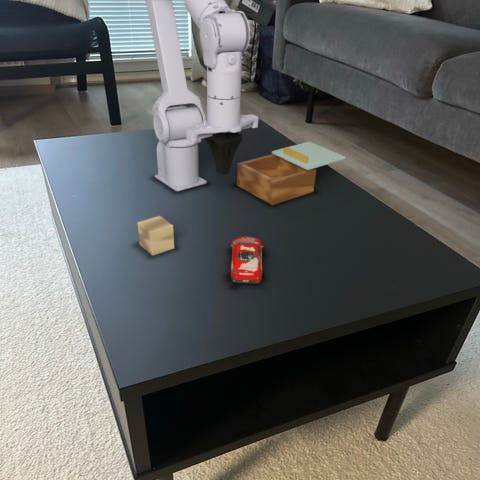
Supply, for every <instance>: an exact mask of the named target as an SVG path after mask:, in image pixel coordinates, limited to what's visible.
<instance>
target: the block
mask: <svg viewBox="0 0 480 480" xmlns="http://www.w3.org/2000/svg"><path fill="white" fill-rule="evenodd" d="M137 233H138V241H139V246H140V247H142V248H143V249H144V250H145V251H146V252H148V253H149V254H150V255H151V256H156V255H158V254H162V253H165V252H168V251H170V250H173V249H175V231H174V225H173V224H172V223H171V222H169V221H168V220H166V219H165V218H164V217H163V216H161V215H157V216H154V217H150V218H147V219H144V220H141V221H137Z"/></svg>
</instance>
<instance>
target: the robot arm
mask: <svg viewBox="0 0 480 480" xmlns="http://www.w3.org/2000/svg"><path fill="white" fill-rule="evenodd" d="M145 4H146V10H147V14H148V20H149V24H150V25H149V26H150V30H151V36H152V41H153V44H154V50H155V51H154V52H155V55H156V56H155V57H156V62H157V67H158V72H159V77H160V82H161V87H162V88H161V89H162V93H161V95H160V96H159V97H158V98H157V99H156V100H155V101H154V103H153V105H152V114H153V129H154V133H155V136H156V138H157V139H158V142H157V145H156V162H157V163H156V164H157V174H155V175H154V178H155V179H157V180H158V181H160V182H161V183H163V184H164V185H166V186H167V187H169V188H170V189H172V190H174V191H175V192H181V191H184V190H188V189H191V188H196V187H200V186H203V185H206V184H207V183H208V181H207V180H206V179H204V178H202V177H201V176H200V175H199V174H200V173H199V167H200V166H199V144H200V143H202V140H203V139H204V140H205V141H206V144H207V145H208V147H209V149H210V152H211V154H212V157H213V161H214V165H215V170H216V173H218V174H220V175H221V176H226V175H229V174H230V169H231V168H232V167H231V166H232V163H233V160H234V157H235V154H236V152H237V150H238V148H239V147H240V144H241V143H242V142H243V134H242V133H240V132H241V131H242V130H245V129H250V128H251V129H256V128H258V126H259V116H257V115H255V114H253V113H250V114H241V97H242V96H241V95H242V68H243V53H245V52H246V51H247V50H248V48H249V45H250V42H251V41H250V40H251V27H250V23H249V20H248V18H247V16H246V14H245V12H244V11H242V10H236V9H231V8H230V6H229V5H228V4H227V2H226V0H184V6H185V9H186V11H187V12H188V14H189V15H190V18H192V20H193V22H194V23H195V25H196V27H197V28H198V30H199V41H200V46H201V49H202V53H203V54H202V55H203V59H202V60H203V64H204V65H205V66H206V113H205V112H204V108H203V106H202V100H201V98H200V97H199V96H198V95H196V94H195V93H193V92H192V91H190V90H189V89H188V83H187V78H186V73H185V67H184V61H183V56H182V49H181V45H180V38H179V33H178V27H177V21H176V20H177V19H176V14H175V9H174V4H173V0H145ZM177 107H178V108H177ZM179 107H180V108H179Z"/></svg>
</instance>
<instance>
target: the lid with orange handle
mask: <svg viewBox="0 0 480 480" xmlns="http://www.w3.org/2000/svg"><path fill="white" fill-rule="evenodd" d="M271 154H274V155H277V156H279V157H281V158H283V159H285V160H287V161H289V162H291V163H294V164H296V165H298V166H300V167H302V168H304V169H306V170H310V169H316V168H320V167H323V166H324V167H325V166H327V165H331V164H334V163H337V162H341V161H344V160H346V159H347V158H346V156H344V155H342V154H340V153H337V152H335V151H332V150H330V149H328V148H325V147H323V146H320V145H318V144H316V143H313V142H311V141H306V142H302V143H299V144H295V145H290V146H286V147H283V148H279V149H275V150H272V151H271Z"/></svg>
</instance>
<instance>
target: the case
mask: <svg viewBox="0 0 480 480" xmlns="http://www.w3.org/2000/svg"><path fill="white" fill-rule="evenodd" d="M236 167H237V169H236V186H237V187H239V188H241V189H243V190H245V192H248V193H250V194H252V195H254V196H255V197H257V198H259V199H261V200H262V201H264V202H266V203H268V204H269V205H271V206H274V205H278V204H280V203H283V202H286V201H289V200H292V199H296V198H299V197H301V196H302V197H303V196H305V195H307V194H311V193H313V192H314V190H315V185H316V175H317V169H316V168H314V169H310V170H306V169H304V168H302V167H300V166H298V165H296V164H294V163H291V162H289V161H287V160H285V159H283V158H281V157H279V156H277V155H274V154H272V153H271V154H268V155H263V156H261V157H255V158H253V159H248V160H245V161H241V162H237V166H236Z"/></svg>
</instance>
